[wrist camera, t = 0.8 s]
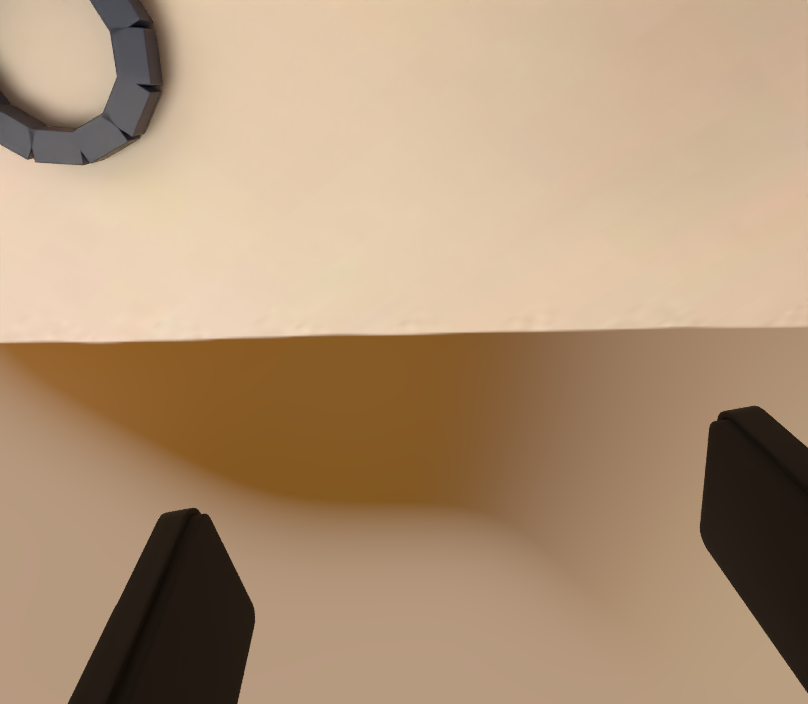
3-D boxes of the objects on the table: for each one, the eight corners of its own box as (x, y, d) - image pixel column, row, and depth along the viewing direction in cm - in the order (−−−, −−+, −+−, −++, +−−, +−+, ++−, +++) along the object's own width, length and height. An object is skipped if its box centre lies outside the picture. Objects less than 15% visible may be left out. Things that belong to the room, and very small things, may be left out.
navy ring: (-31, -140, 26) (-58, -154, 24) (194, 17, 29) (183, 13, 28) (-86, 82, 30) (-111, 82, 29) (117, 197, 34) (104, 203, 32)
